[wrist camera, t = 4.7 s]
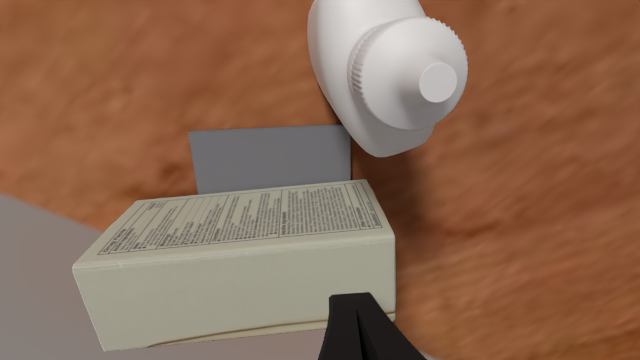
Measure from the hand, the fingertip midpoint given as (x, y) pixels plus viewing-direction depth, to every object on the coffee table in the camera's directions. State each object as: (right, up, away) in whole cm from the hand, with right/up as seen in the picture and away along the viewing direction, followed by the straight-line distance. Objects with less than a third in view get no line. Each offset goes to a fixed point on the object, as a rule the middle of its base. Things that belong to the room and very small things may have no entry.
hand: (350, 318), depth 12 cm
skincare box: (+2, +2, +5) cm, 6 cm away
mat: (-3, +5, +8) cm, 9 cm away
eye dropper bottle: (0, +10, +6) cm, 12 cm away
